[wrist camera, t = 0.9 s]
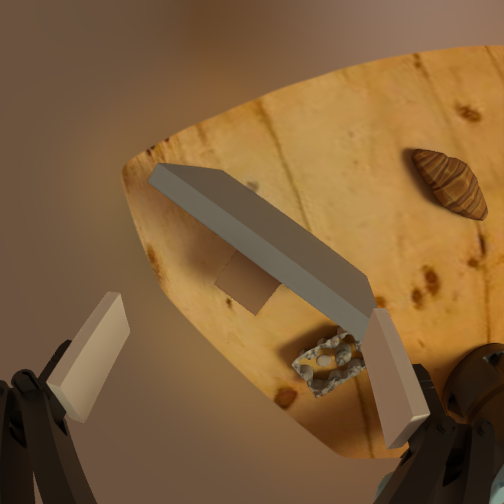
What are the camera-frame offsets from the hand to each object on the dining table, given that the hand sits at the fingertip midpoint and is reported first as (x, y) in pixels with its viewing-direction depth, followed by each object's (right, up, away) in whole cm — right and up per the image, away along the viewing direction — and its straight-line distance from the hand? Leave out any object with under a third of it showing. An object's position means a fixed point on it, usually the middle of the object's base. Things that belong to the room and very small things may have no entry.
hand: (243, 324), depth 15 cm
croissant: (+27, +13, +18) cm, 34 cm away
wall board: (+3, +4, +25) cm, 26 cm away
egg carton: (+12, -11, +27) cm, 31 cm away
